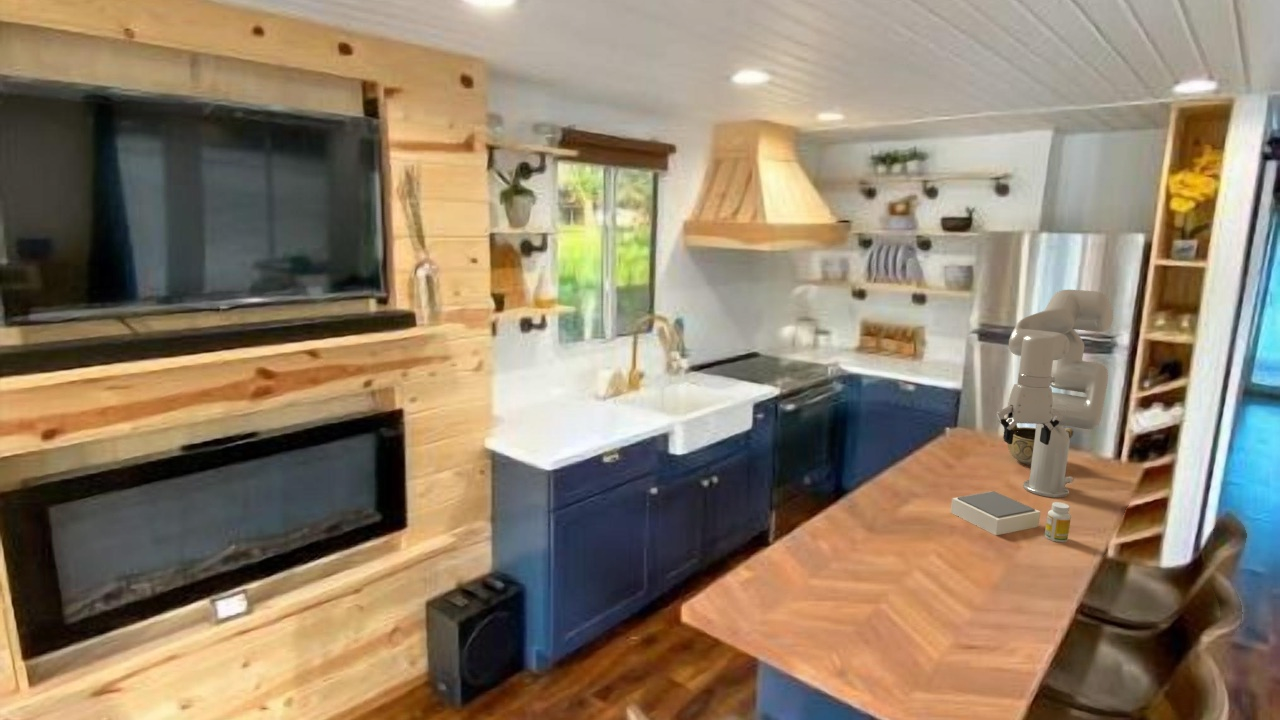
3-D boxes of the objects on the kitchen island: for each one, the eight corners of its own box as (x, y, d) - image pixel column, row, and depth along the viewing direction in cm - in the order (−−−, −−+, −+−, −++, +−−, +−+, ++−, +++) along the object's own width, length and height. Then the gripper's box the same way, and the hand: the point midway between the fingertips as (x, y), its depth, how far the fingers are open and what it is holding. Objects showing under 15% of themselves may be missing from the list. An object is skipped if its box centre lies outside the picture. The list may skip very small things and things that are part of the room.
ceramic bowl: (1075, 466, 248) (1081, 425, 245) (1057, 478, 237) (1063, 434, 234) (1008, 450, 265) (1013, 411, 262) (988, 460, 254) (993, 419, 251)
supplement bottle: (1041, 537, 193) (1045, 504, 191) (1049, 532, 196) (1053, 499, 194) (1062, 544, 189) (1067, 510, 187) (1070, 539, 192) (1075, 505, 190)
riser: (991, 505, 214) (993, 489, 213) (1038, 526, 199) (1040, 509, 198) (950, 512, 208) (952, 496, 207) (995, 535, 194) (997, 518, 193)
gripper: (1058, 378, 193) (1050, 439, 196) (994, 377, 193) (987, 438, 196) (1074, 385, 186) (1066, 448, 189) (1008, 383, 186) (1000, 446, 189)
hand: (1025, 442), depth 193 cm, fingers open, 9 cm apart
